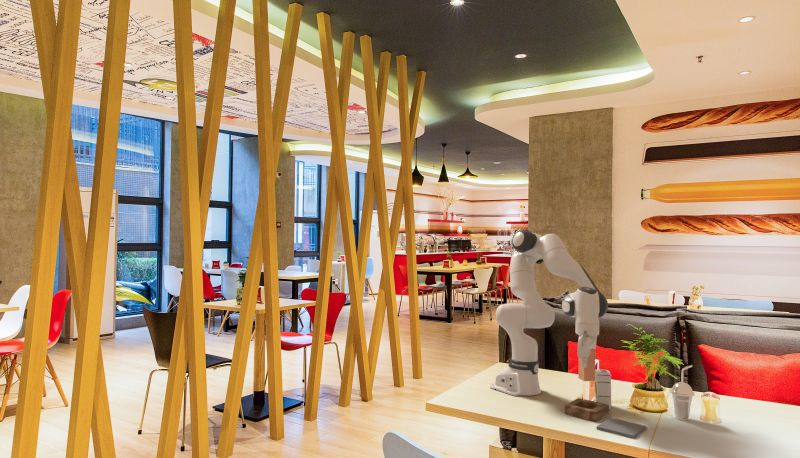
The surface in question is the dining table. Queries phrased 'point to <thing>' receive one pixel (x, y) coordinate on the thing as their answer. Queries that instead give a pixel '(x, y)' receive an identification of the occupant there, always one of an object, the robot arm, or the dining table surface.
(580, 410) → the socket holder
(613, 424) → the slate mat
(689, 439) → the dining table surface
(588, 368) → the terracotta peg
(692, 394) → the cup with straw
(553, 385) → the dining table surface
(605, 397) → the syrup box
